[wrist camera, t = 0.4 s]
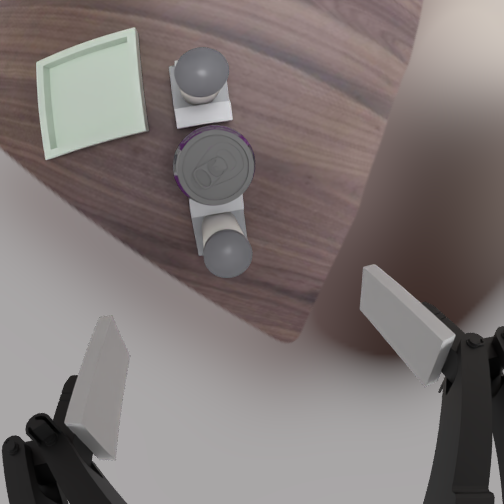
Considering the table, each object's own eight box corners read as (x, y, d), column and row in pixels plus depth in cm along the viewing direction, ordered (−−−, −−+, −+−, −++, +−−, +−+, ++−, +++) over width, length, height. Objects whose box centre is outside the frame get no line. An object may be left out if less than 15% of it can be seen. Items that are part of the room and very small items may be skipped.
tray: (44, 65, 24) (36, 62, 22) (138, 33, 26) (134, 27, 23) (54, 158, 29) (45, 160, 27) (149, 131, 31) (145, 130, 29)
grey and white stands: (169, 67, 28) (160, 42, 19) (223, 59, 29) (234, 33, 20) (198, 254, 38) (201, 293, 29) (247, 245, 39) (264, 281, 30)
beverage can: (203, 198, 35) (208, 228, 24) (166, 153, 32) (153, 162, 21) (250, 162, 35) (276, 175, 24) (214, 116, 32) (224, 106, 21)
